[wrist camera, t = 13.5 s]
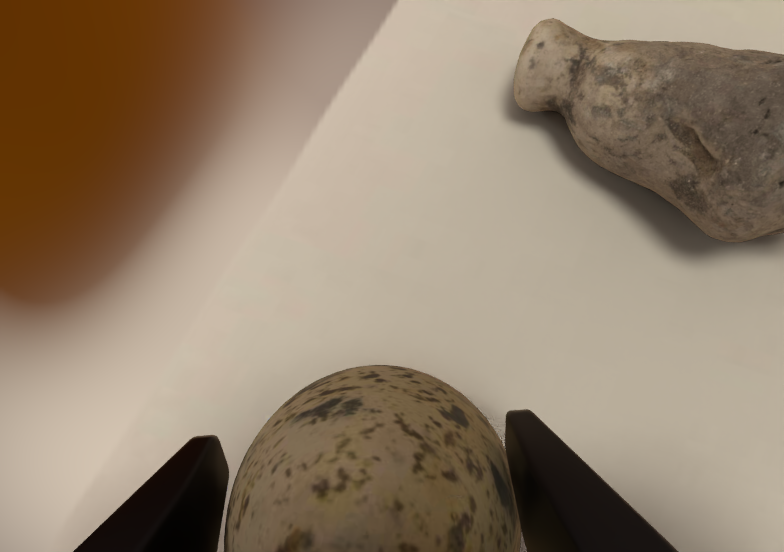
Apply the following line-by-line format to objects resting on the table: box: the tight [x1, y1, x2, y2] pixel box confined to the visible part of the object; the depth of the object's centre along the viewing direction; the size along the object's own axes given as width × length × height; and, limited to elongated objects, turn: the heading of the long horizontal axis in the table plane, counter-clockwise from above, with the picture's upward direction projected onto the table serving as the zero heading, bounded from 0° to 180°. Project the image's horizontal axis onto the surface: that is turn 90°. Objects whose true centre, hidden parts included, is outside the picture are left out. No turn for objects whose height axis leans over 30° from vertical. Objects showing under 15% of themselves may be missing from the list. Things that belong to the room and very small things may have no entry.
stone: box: [514, 18, 784, 242], centre depth 16 cm, size 10×5×8 cm
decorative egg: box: [224, 365, 521, 552], centre depth 10 cm, size 6×6×10 cm
